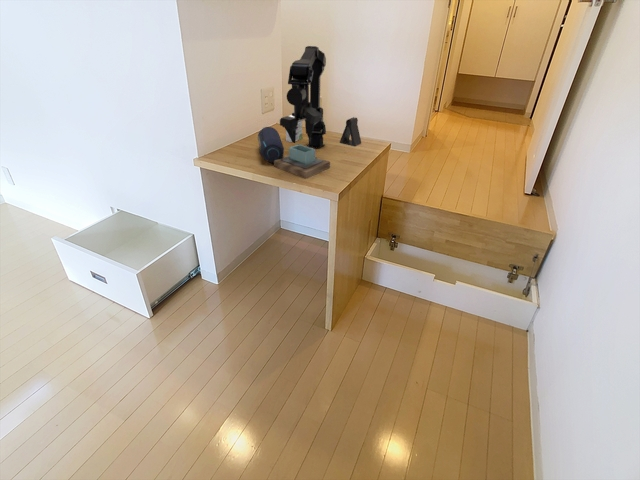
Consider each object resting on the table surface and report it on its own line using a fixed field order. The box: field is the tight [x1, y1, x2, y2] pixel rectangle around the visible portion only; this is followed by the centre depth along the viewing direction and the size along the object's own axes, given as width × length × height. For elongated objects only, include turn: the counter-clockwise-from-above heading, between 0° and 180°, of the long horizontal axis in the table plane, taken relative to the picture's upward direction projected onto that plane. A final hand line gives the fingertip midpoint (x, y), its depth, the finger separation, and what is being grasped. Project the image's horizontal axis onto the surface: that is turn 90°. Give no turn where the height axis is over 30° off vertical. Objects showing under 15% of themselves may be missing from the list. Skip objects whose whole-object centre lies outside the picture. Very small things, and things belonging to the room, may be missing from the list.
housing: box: [288, 144, 316, 165], centre depth 147 cm, size 6×10×5 cm, turn 51°
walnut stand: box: [273, 154, 331, 179], centre depth 149 cm, size 18×15×3 cm
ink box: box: [285, 114, 303, 143], centre depth 176 cm, size 8×5×12 cm, turn 153°
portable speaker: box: [257, 126, 285, 163], centre depth 157 cm, size 25×10×10 cm, turn 12°
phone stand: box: [339, 116, 362, 147], centre depth 173 cm, size 9×6×12 cm, turn 55°
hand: (301, 140), depth 143 cm, fingers open, 9 cm apart
